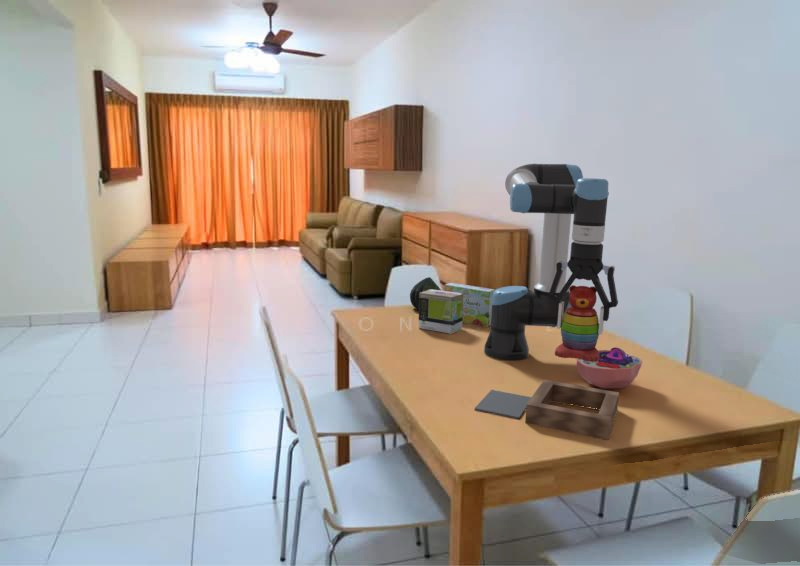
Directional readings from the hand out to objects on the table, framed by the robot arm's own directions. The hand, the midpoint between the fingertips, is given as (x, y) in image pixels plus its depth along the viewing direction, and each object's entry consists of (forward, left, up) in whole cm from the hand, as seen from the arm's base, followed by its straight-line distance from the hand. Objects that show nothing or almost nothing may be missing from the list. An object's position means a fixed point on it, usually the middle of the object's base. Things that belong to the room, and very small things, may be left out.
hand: (579, 329), depth 149 cm
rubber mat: (-18, -1, -23) cm, 29 cm away
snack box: (-56, +77, -24) cm, 98 cm away
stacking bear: (0, 0, -7) cm, 7 cm away
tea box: (-62, +61, -24) cm, 90 cm away
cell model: (+5, +28, -24) cm, 37 cm away
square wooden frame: (0, 0, -23) cm, 23 cm away
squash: (-80, +88, -24) cm, 121 cm away
